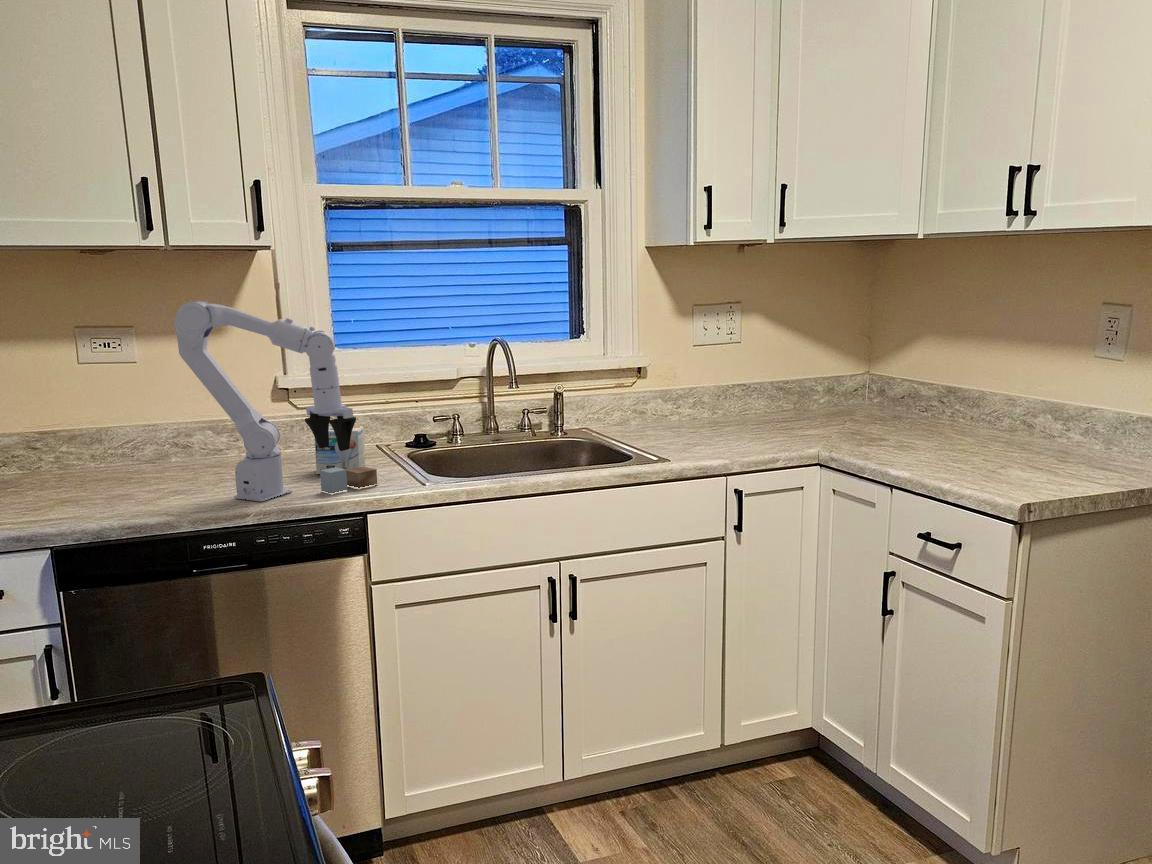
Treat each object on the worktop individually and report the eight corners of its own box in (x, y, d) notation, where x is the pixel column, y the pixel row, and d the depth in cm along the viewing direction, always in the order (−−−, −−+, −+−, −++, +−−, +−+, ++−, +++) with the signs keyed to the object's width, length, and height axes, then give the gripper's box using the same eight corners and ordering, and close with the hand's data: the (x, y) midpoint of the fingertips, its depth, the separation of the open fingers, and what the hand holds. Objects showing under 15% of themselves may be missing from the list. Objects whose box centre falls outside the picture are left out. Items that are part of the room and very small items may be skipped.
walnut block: (358, 490, 198) (358, 473, 197) (345, 487, 201) (344, 470, 201) (377, 486, 202) (376, 469, 201) (364, 483, 205) (363, 466, 204)
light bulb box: (315, 475, 213) (313, 431, 211) (322, 469, 220) (320, 426, 218) (360, 474, 214) (358, 430, 212) (366, 468, 220) (364, 425, 218)
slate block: (331, 495, 194) (330, 472, 193) (321, 492, 196) (319, 470, 196) (347, 491, 197) (346, 469, 196) (336, 489, 199) (335, 467, 199)
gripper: (361, 385, 191) (369, 447, 194) (322, 383, 201) (330, 442, 203) (333, 390, 186) (342, 454, 189) (294, 388, 195) (303, 449, 198)
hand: (334, 448), depth 196 cm, fingers open, 7 cm apart
